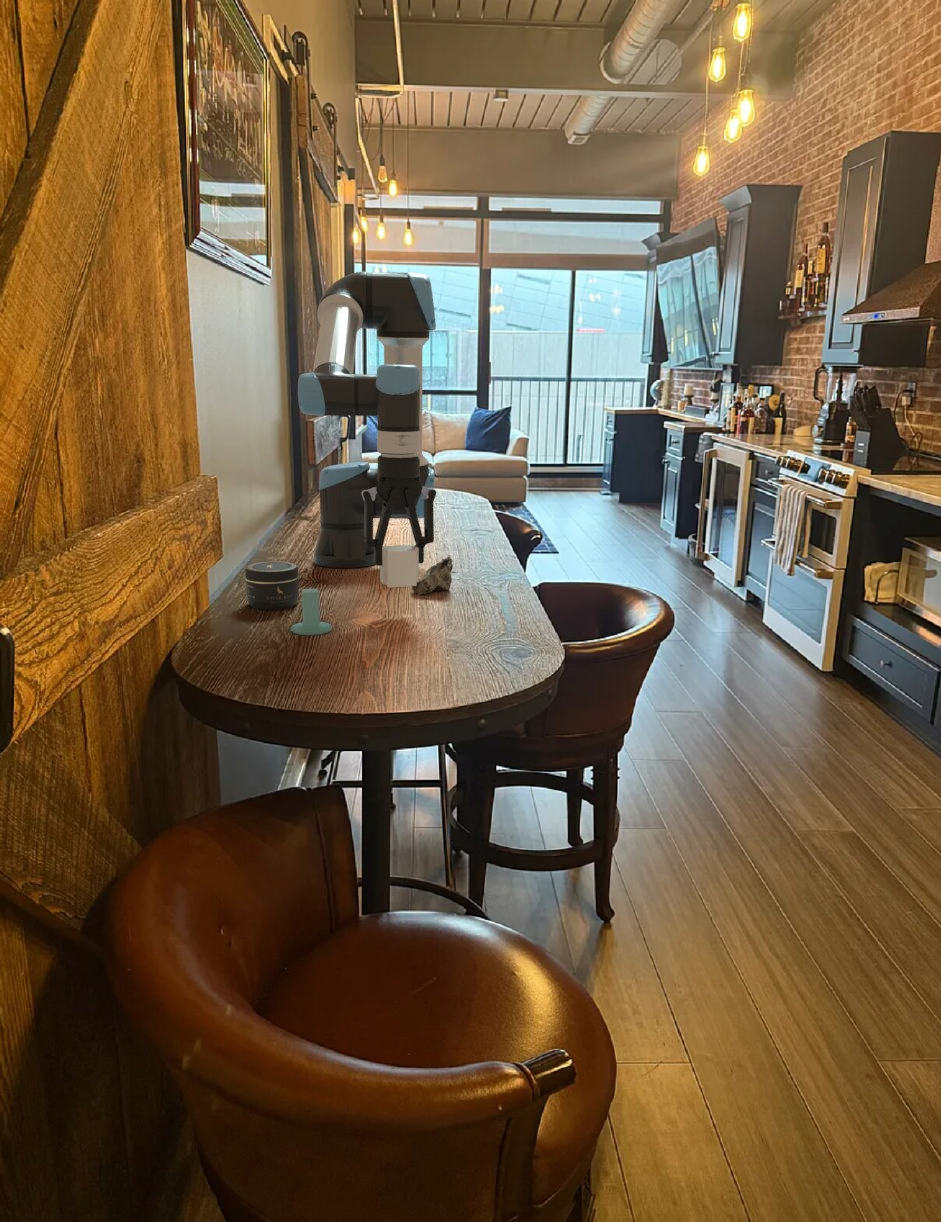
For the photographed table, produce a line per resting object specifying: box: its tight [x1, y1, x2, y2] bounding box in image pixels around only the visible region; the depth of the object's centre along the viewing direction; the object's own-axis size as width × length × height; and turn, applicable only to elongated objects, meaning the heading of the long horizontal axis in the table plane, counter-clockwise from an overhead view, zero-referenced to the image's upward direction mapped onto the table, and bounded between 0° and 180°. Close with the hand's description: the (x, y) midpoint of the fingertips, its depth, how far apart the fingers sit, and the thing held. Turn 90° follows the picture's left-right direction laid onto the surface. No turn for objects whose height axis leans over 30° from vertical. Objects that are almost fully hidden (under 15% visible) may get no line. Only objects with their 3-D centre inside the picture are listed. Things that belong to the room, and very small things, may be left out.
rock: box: [411, 554, 454, 595], centre depth 177 cm, size 9×7×10 cm
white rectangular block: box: [383, 544, 416, 588], centre depth 158 cm, size 5×5×7 cm
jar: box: [244, 560, 300, 611], centre depth 164 cm, size 10×10×8 cm
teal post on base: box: [290, 588, 333, 636], centre depth 148 cm, size 7×7×7 cm
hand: (399, 581), depth 158 cm, fingers closed on white rectangular block, 5 cm apart
